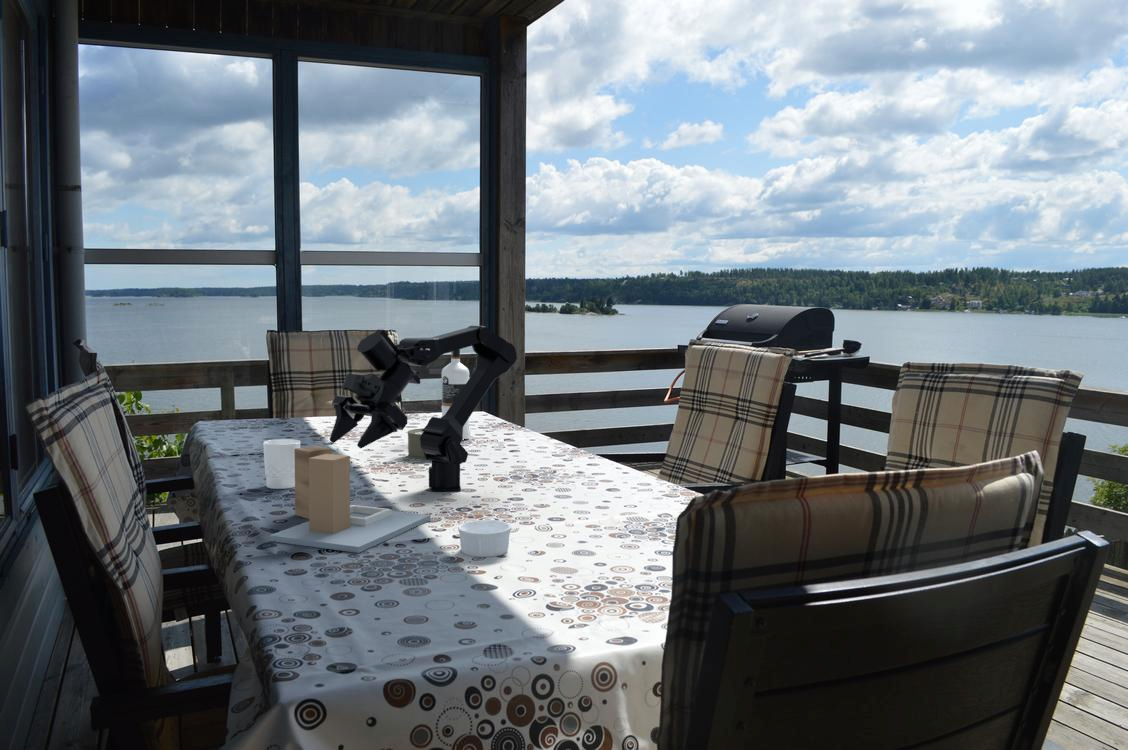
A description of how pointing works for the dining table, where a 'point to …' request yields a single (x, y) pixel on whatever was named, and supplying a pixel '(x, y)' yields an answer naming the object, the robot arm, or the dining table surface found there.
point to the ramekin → (484, 538)
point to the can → (415, 444)
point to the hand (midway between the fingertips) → (344, 444)
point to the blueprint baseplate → (353, 533)
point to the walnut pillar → (304, 477)
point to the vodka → (454, 385)
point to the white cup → (280, 463)
